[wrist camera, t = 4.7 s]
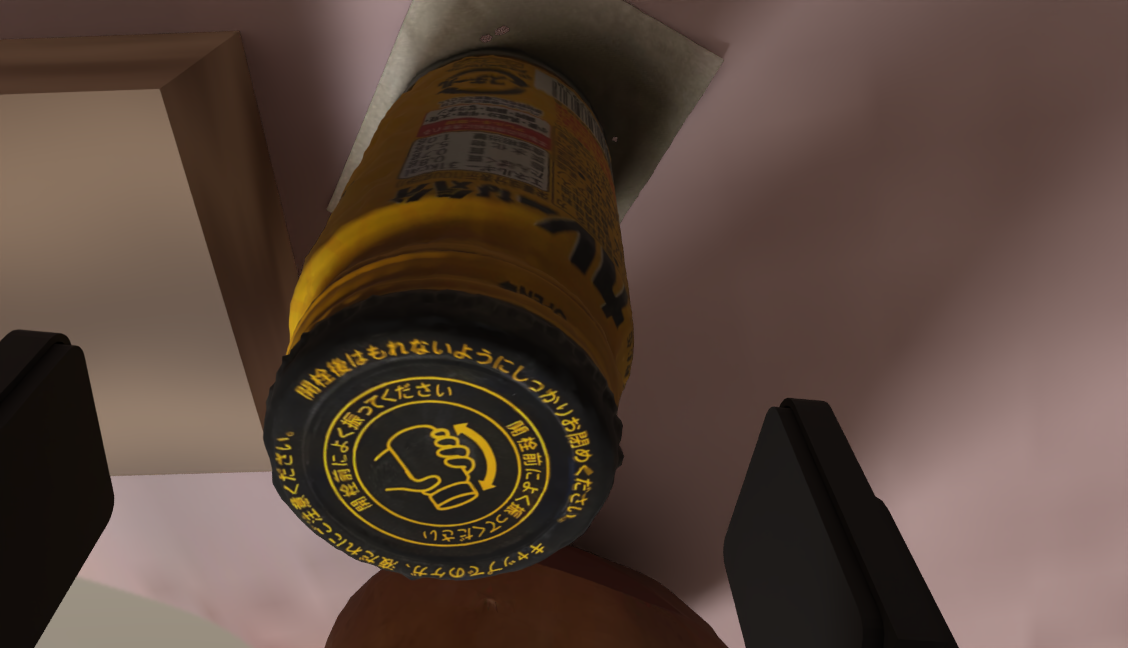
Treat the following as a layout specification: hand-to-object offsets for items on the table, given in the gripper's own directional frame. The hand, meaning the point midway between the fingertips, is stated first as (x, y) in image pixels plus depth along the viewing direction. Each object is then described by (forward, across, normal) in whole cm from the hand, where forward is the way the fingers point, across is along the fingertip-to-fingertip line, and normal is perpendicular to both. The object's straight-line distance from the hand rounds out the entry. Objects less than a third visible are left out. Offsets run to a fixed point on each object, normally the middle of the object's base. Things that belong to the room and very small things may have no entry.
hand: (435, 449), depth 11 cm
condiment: (+12, -1, 0) cm, 12 cm away
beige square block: (+12, +10, +4) cm, 16 cm away
